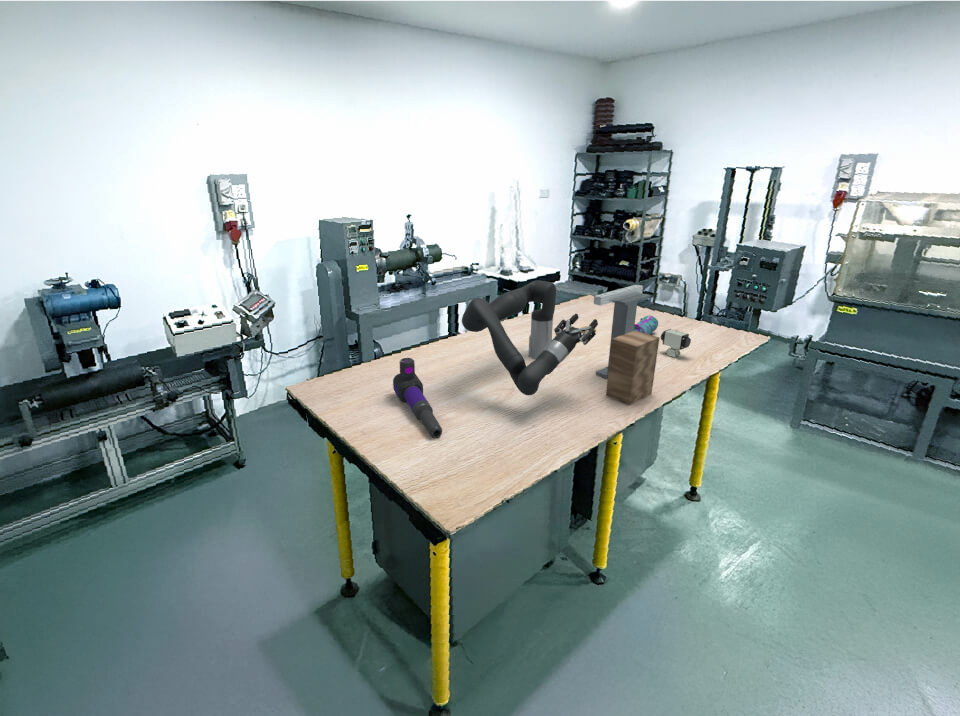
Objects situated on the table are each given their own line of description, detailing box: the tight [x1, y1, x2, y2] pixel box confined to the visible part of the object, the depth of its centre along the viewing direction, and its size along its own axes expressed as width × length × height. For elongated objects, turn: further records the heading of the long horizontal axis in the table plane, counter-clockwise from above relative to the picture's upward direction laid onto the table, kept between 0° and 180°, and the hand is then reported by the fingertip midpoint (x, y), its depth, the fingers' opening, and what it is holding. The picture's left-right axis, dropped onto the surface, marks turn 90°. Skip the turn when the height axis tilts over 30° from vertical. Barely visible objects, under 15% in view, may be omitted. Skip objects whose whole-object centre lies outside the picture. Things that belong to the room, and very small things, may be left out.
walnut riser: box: [605, 331, 661, 406], centre depth 177 cm, size 14×10×22 cm
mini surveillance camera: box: [660, 328, 692, 359], centre depth 214 cm, size 6×12×12 cm, turn 38°
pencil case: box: [634, 314, 659, 335], centre depth 236 cm, size 21×9×10 cm, turn 145°
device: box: [392, 357, 443, 439], centre depth 165 cm, size 9×36×15 cm, turn 24°
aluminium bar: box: [593, 284, 644, 306], centre depth 183 cm, size 26×3×3 cm, turn 130°
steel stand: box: [595, 293, 651, 380], centre depth 192 cm, size 16×10×32 cm, turn 130°
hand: (586, 318), depth 174 cm, fingers open, 8 cm apart
